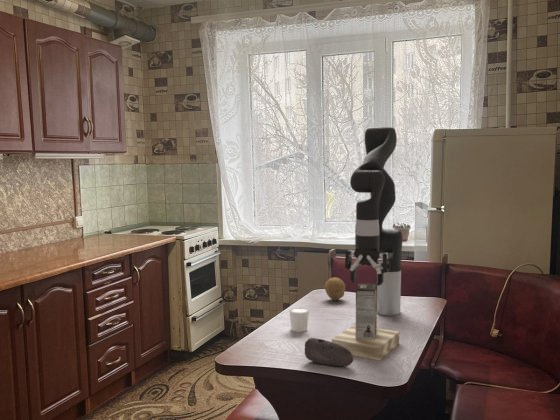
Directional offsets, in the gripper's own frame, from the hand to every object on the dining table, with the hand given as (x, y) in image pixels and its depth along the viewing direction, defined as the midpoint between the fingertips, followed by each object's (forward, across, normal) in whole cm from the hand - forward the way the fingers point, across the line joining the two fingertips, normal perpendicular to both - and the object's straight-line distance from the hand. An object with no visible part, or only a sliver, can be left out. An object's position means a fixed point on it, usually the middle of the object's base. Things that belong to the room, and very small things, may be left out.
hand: (366, 283), depth 177 cm
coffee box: (+17, 0, 0) cm, 17 cm away
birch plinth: (+21, 0, 0) cm, 21 cm away
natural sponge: (+22, +35, -51) cm, 65 cm away
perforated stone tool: (+21, +4, +20) cm, 29 cm away
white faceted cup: (+21, +28, -6) cm, 36 cm away
